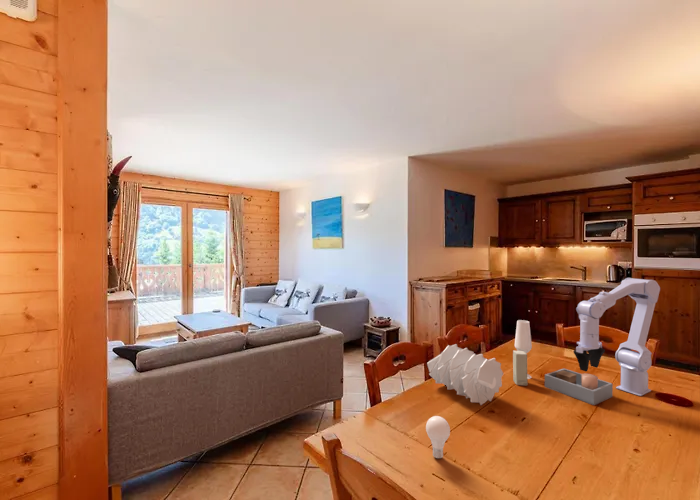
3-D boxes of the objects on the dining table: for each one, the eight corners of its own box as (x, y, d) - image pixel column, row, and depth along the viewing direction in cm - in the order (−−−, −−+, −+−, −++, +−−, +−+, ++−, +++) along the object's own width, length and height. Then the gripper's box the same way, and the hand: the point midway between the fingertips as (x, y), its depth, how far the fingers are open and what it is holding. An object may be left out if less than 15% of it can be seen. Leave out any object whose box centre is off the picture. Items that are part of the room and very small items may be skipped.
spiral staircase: (449, 390, 140) (502, 413, 118) (420, 379, 132) (470, 402, 111) (461, 348, 144) (514, 363, 122) (433, 335, 137) (484, 349, 115)
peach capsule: (600, 395, 125) (600, 377, 124) (593, 398, 122) (593, 379, 122) (586, 390, 129) (586, 372, 129) (578, 393, 127) (578, 374, 127)
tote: (563, 380, 140) (563, 368, 140) (612, 396, 125) (612, 383, 125) (544, 386, 134) (544, 374, 134) (593, 405, 118) (593, 391, 118)
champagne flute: (532, 374, 146) (532, 320, 145) (531, 380, 140) (531, 323, 140) (515, 371, 149) (515, 318, 149) (513, 376, 144) (513, 321, 143)
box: (527, 386, 134) (528, 354, 134) (516, 385, 135) (516, 354, 135) (523, 380, 140) (523, 350, 139) (512, 380, 140) (512, 349, 140)
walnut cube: (576, 387, 132) (576, 374, 132) (569, 389, 130) (569, 377, 129) (563, 382, 136) (563, 370, 136) (556, 385, 134) (556, 372, 134)
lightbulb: (422, 450, 93) (422, 412, 93) (444, 449, 93) (444, 411, 93) (430, 465, 86) (430, 424, 86) (453, 464, 87) (453, 423, 87)
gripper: (587, 328, 132) (587, 361, 133) (567, 333, 125) (567, 368, 126) (608, 332, 126) (607, 367, 126) (588, 337, 119) (587, 375, 119)
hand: (589, 368), depth 126 cm, fingers open, 7 cm apart
